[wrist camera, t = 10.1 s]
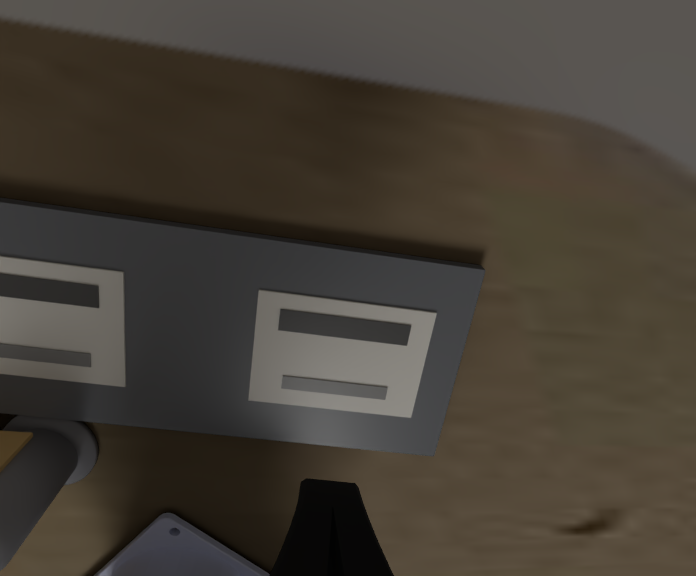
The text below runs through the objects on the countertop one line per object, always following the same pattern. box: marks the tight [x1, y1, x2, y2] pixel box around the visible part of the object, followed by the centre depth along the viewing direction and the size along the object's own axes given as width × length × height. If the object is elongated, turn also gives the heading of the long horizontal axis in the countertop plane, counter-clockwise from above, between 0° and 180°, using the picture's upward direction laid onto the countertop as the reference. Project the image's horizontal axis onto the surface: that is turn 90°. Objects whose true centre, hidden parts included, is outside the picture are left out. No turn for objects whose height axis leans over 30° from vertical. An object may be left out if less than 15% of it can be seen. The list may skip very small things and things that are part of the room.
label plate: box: [0, 198, 485, 485], centre depth 19 cm, size 22×13×1 cm, turn 81°
